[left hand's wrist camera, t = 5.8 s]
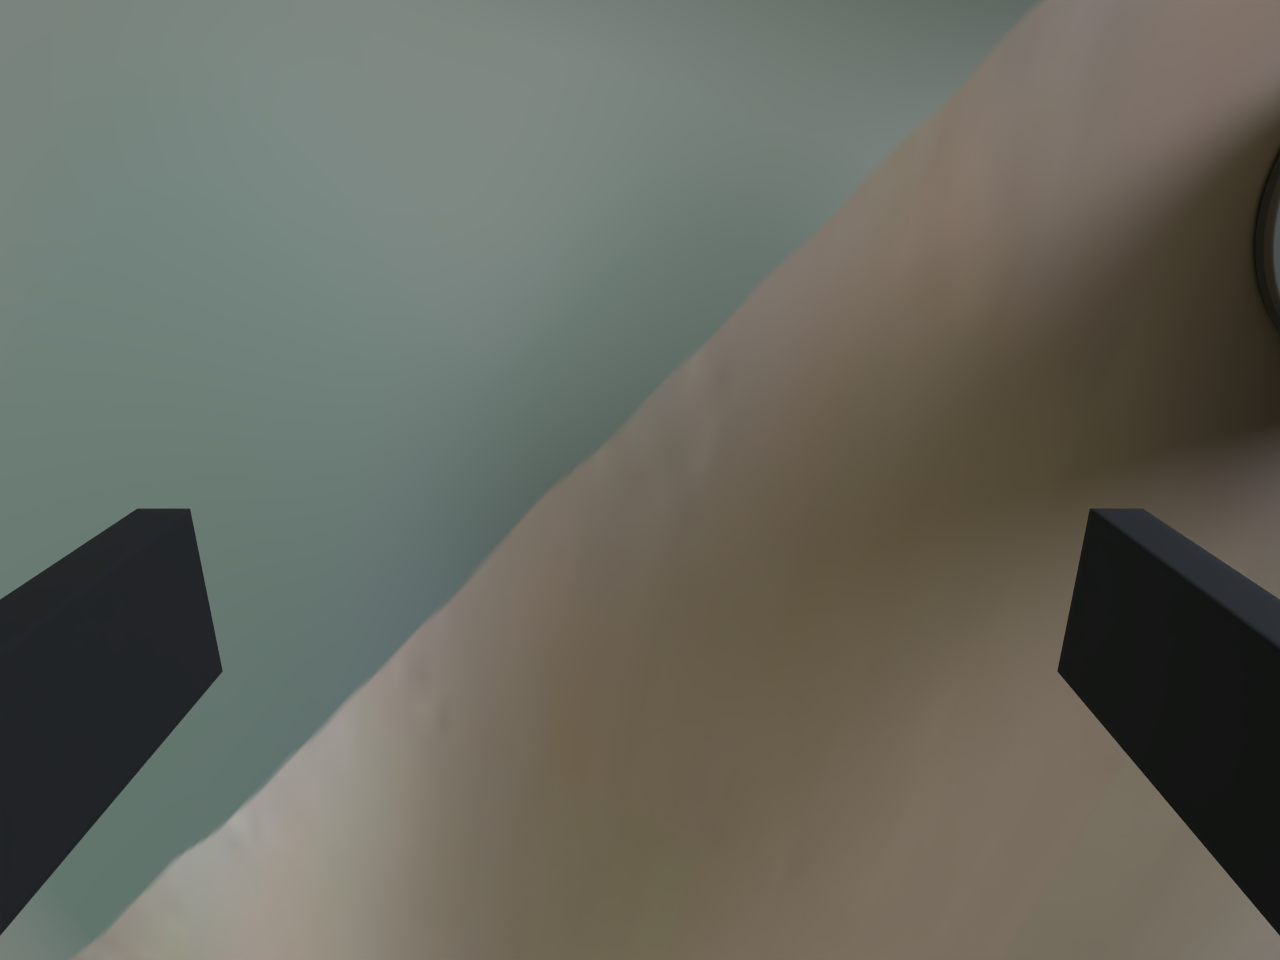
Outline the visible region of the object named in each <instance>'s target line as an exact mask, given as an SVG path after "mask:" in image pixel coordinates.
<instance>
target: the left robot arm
mask: <svg viewBox="0 0 1280 960" xmlns="http://www.w3.org/2000/svg"><path fill="white" fill-rule="evenodd" d="M1255 262H1256V270H1257V278H1258V282H1259V286H1260V291H1261V294H1262V297H1263V300H1264V302H1265V305H1266V308H1267V310H1268V312H1269V314H1270V316H1271V318H1272V320H1273V321H1274V323H1275V324H1276V326H1277V327H1278V329H1279V330H1280V155H1279V157H1278V159H1277V162H1276V164H1275V166H1274V168H1273V170H1272V172H1271V175H1270V178H1269V181H1268V183H1267V186H1266V189H1265V192H1264V196H1263V199H1262V203H1261V207H1260V211H1259V217H1258V222H1257V229H1256V241H1255ZM221 673H222V666H221V661H220V656H219V651H218V646H217V641H216V637H215V631H214V626H213V621H212V616H211V611H210V606H209V601H208V596H207V591H206V586H205V582H204V577H203V572H202V567H201V562H200V557H199V552H198V546H197V541H196V537H195V531H194V526H193V522H192V517H191V512H190V509H136V510H135V511H133V512H132V513H130V514H129V515H127V516H126V517H124V518H123V519H121V520H120V521H118V522H117V523H115V524H114V525H112V526H111V527H109V528H108V529H106V530H105V531H103V532H102V533H100V534H99V535H97V536H96V537H94V538H92V539H91V540H89V541H88V542H86V543H85V544H84V545H82V546H80V547H79V548H77V549H76V550H74V551H73V552H71V553H70V554H68V555H67V556H65V557H64V558H62V559H61V560H59V561H58V562H56V563H55V564H53V565H52V566H50V567H49V568H47V569H46V570H44V571H43V572H41V573H40V574H38V575H37V576H35V577H34V578H32V579H31V580H29V581H28V582H26V583H25V584H23V585H22V586H20V587H19V588H17V589H16V590H14V591H13V592H11V593H10V594H8V595H7V596H5V597H4V598H2V599H1V600H0V935H1V934H2V933H3V932H4V930H5V929H6V928H7V927H8V926H9V924H10V923H11V922H12V921H13V920H14V918H15V917H16V916H17V915H18V914H19V913H20V911H21V910H22V909H23V908H24V907H25V905H26V904H27V903H28V902H29V901H30V899H31V898H32V897H33V896H34V895H35V893H36V892H37V891H38V890H39V889H40V888H41V886H42V885H43V884H44V883H45V882H46V880H47V879H48V878H49V877H50V876H51V874H52V873H53V872H54V871H55V870H56V869H57V867H58V866H59V865H60V864H61V863H62V861H63V860H64V859H65V858H66V857H67V855H68V854H69V853H70V852H71V851H72V850H73V848H74V847H75V846H76V845H77V844H78V842H79V841H80V840H81V839H82V838H83V836H84V835H85V834H86V833H87V832H88V831H89V829H90V828H91V827H92V826H93V825H94V823H95V822H96V821H97V820H98V819H99V817H100V816H101V815H102V814H103V813H104V812H105V810H106V809H107V808H108V807H109V806H110V804H111V803H112V802H113V801H114V800H115V798H116V797H117V796H118V795H119V794H120V793H121V791H122V790H123V789H124V788H125V787H126V785H127V784H128V783H129V782H130V781H131V779H132V778H133V777H134V776H135V775H136V774H137V772H138V771H139V770H140V769H141V768H142V766H143V765H144V764H145V763H146V762H147V760H148V759H149V758H150V757H151V756H152V755H153V753H154V752H155V751H156V750H157V749H158V747H159V746H160V745H161V744H162V743H163V741H164V740H165V739H166V738H167V737H168V736H169V734H170V733H171V732H172V731H173V729H174V728H175V727H176V726H177V725H178V724H179V722H180V721H181V720H182V719H183V718H184V716H185V715H186V714H187V713H188V712H189V711H190V709H191V708H192V707H193V706H194V705H195V703H196V702H197V701H198V700H199V699H200V697H201V696H202V695H203V694H204V693H205V692H206V690H207V689H208V688H209V687H210V686H211V684H212V683H213V682H214V681H215V680H216V678H217V677H218V676H219V675H220V674H221ZM1058 673H1059V674H1060V675H1061V676H1062V677H1063V678H1064V680H1065V681H1066V682H1067V683H1068V684H1069V686H1070V687H1071V688H1072V689H1073V690H1074V692H1075V693H1076V694H1077V695H1078V696H1079V697H1080V699H1081V700H1082V701H1083V702H1084V703H1085V705H1086V706H1087V707H1088V708H1089V709H1090V711H1091V712H1092V713H1093V714H1094V715H1095V717H1096V718H1097V719H1098V720H1099V721H1100V722H1101V724H1102V725H1103V726H1104V727H1105V728H1106V730H1107V731H1108V732H1109V733H1110V734H1111V736H1112V737H1113V738H1114V739H1115V740H1116V741H1117V743H1118V744H1119V745H1120V746H1121V747H1122V749H1123V750H1124V751H1125V752H1126V753H1127V755H1128V756H1129V757H1130V758H1131V759H1132V760H1133V762H1134V763H1135V764H1136V765H1137V766H1138V768H1139V769H1140V770H1141V771H1142V772H1143V774H1144V775H1145V776H1146V777H1147V778H1148V779H1149V781H1150V782H1151V783H1152V784H1153V785H1154V787H1155V788H1156V789H1157V790H1158V791H1159V793H1160V794H1161V795H1162V796H1163V797H1164V798H1165V800H1166V801H1167V802H1168V803H1169V804H1170V806H1171V807H1172V808H1173V809H1174V810H1175V812H1176V813H1177V814H1178V815H1179V816H1180V817H1181V819H1182V820H1183V821H1184V822H1185V823H1186V825H1187V826H1188V827H1189V828H1190V829H1191V831H1192V832H1193V833H1194V834H1195V835H1196V836H1197V838H1198V839H1199V840H1200V841H1201V842H1202V844H1203V845H1204V846H1205V847H1206V848H1207V850H1208V851H1209V852H1210V853H1211V854H1212V855H1213V857H1214V858H1215V859H1216V860H1217V861H1218V863H1219V864H1220V865H1221V866H1222V867H1223V869H1224V870H1225V871H1226V872H1227V873H1228V875H1229V876H1230V877H1231V878H1232V879H1233V880H1234V882H1235V883H1236V884H1237V885H1238V886H1239V888H1240V889H1241V890H1242V891H1243V892H1244V894H1245V895H1246V896H1247V897H1248V898H1249V899H1250V901H1251V902H1252V903H1253V904H1254V905H1255V907H1256V908H1257V909H1258V910H1259V911H1260V913H1261V914H1262V915H1263V916H1264V917H1265V918H1266V920H1267V921H1268V922H1269V923H1270V924H1271V926H1272V927H1273V928H1274V929H1275V930H1276V932H1277V933H1278V934H1279V935H1280V600H1279V599H1278V598H1276V597H1275V596H1273V595H1272V594H1270V593H1269V592H1267V591H1266V590H1264V589H1263V588H1261V587H1260V586H1258V585H1257V584H1255V583H1254V582H1252V581H1251V580H1249V579H1248V578H1246V577H1245V576H1243V575H1242V574H1240V573H1239V572H1237V571H1236V570H1234V569H1233V568H1231V567H1230V566H1228V565H1227V564H1225V563H1224V562H1222V561H1221V560H1219V559H1218V558H1216V557H1215V556H1213V555H1212V554H1210V553H1209V552H1207V551H1206V550H1204V549H1203V548H1201V547H1200V546H1198V545H1197V544H1195V543H1194V542H1192V541H1191V540H1189V539H1188V538H1186V537H1184V536H1183V535H1181V534H1180V533H1178V532H1177V531H1175V530H1174V529H1172V528H1171V527H1169V526H1168V525H1166V524H1165V523H1163V522H1162V521H1160V520H1159V519H1157V518H1156V517H1154V516H1153V515H1151V514H1150V513H1148V512H1147V511H1145V510H1144V509H1090V512H1089V516H1088V521H1087V526H1086V531H1085V536H1084V541H1083V546H1082V551H1081V556H1080V561H1079V566H1078V571H1077V576H1076V581H1075V586H1074V591H1073V596H1072V601H1071V606H1070V611H1069V616H1068V621H1067V626H1066V631H1065V636H1064V641H1063V646H1062V651H1061V656H1060V661H1059V666H1058Z"/></svg>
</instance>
